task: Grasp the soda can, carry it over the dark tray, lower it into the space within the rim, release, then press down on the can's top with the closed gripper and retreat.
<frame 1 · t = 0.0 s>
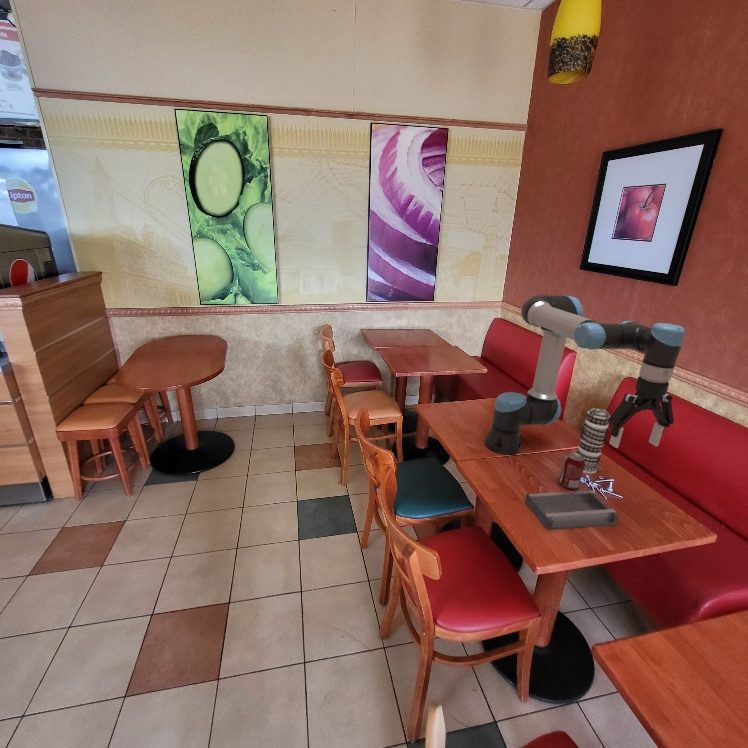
hand: (633, 445, 121), 28 cm above the table, fingers open, 13 cm apart
tray: (568, 512, 133), on the table
soda can: (568, 484, 149), on the table
decorative candle: (584, 468, 161), on the table
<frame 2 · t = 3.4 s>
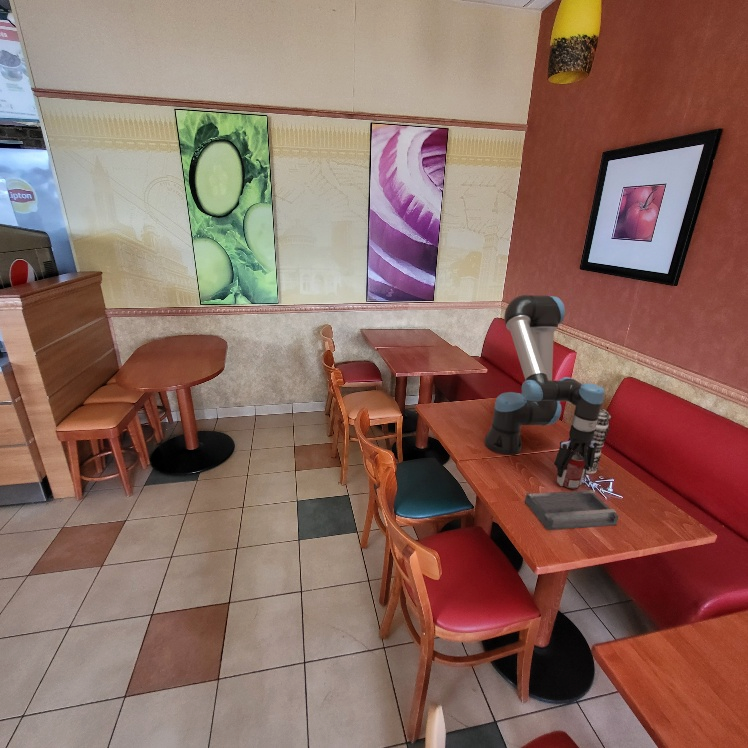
hand: (568, 483, 149), 1 cm above the table, fingers closed on soda can, 7 cm apart
soda can: (568, 484, 149), on the table, touching gripper
everything else where it was.
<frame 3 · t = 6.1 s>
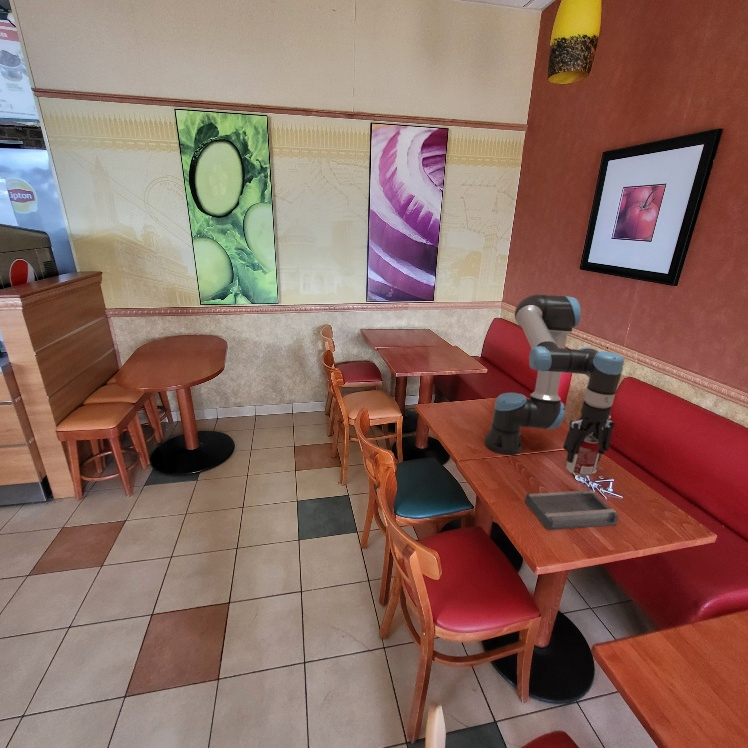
hand: (580, 469, 128), 16 cm above the table, fingers closed on soda can, 7 cm apart
soda can: (579, 472, 128), point 16 cm above the table, touching gripper
everything else where it was.
when the fingers open (3 cm above the table, at t = 8.8 s): soda can drops 1 cm, resting on tray.
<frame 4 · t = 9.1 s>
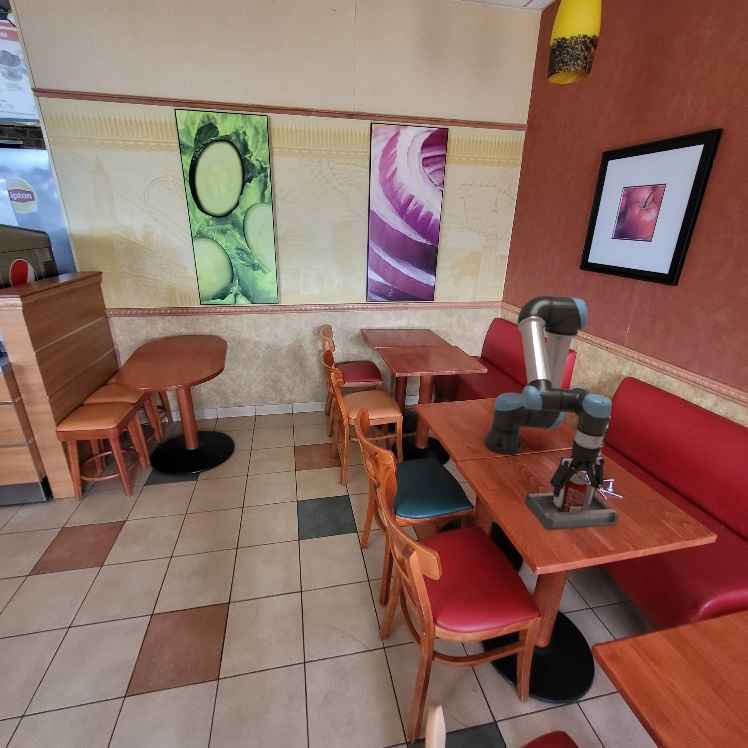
hand: (571, 503, 132), 4 cm above the table, fingers open, 10 cm apart
soda can: (569, 510, 133), point 1 cm above the table, touching tray
everything else where it was.
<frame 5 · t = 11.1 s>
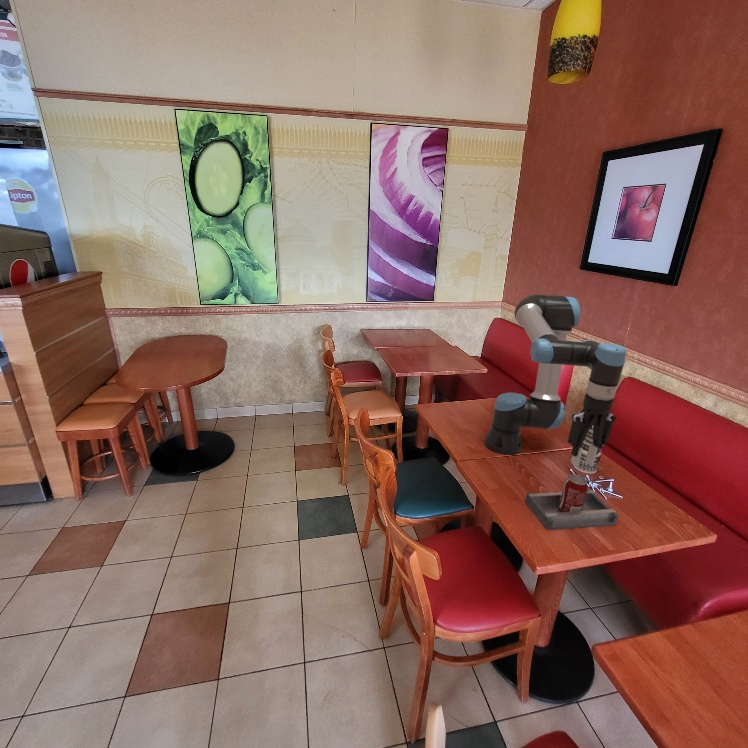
hand: (581, 463, 127), 19 cm above the table, fingers open, 4 cm apart
nothing on the table moved.
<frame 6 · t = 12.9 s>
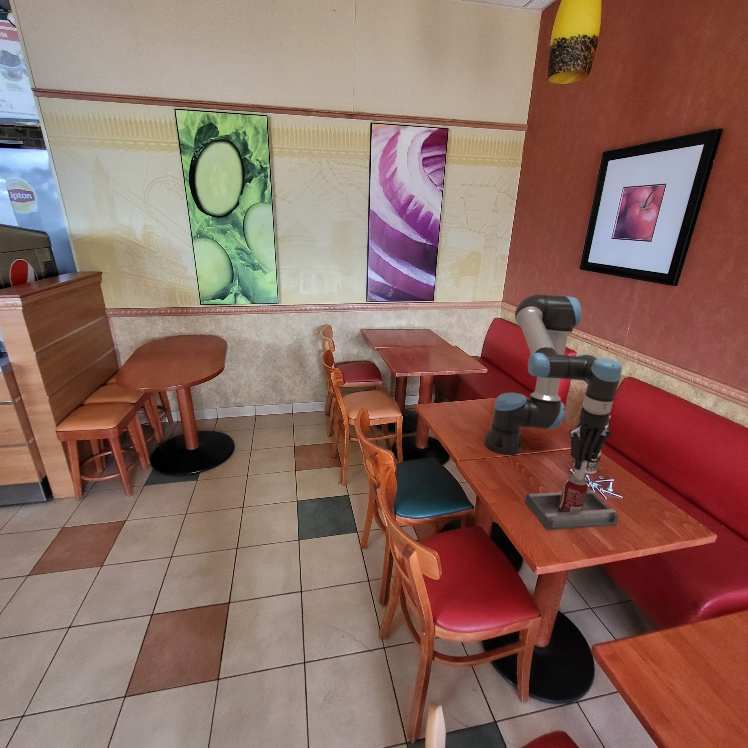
hand: (578, 477, 129), 14 cm above the table, fingers closed
nothing on the table moved.
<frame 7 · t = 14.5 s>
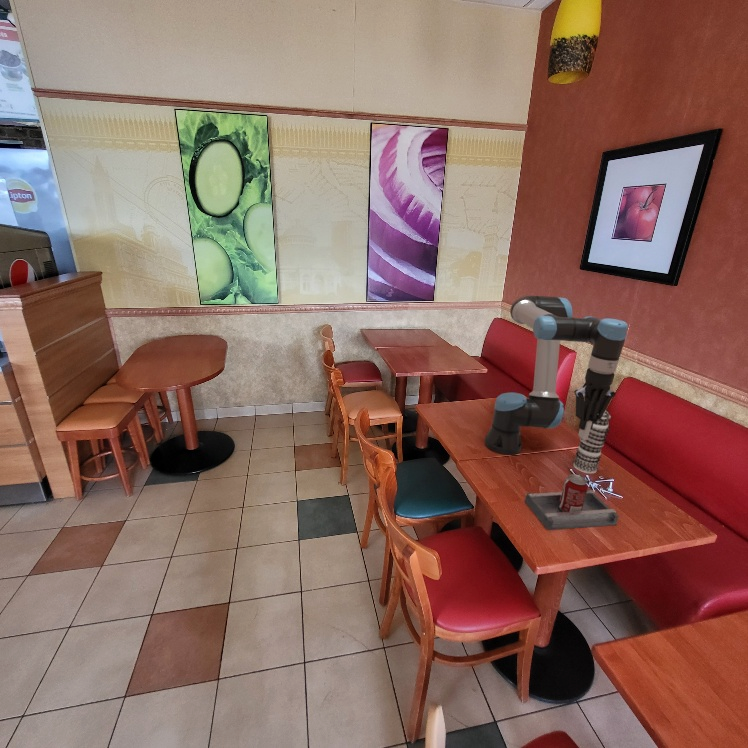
hand: (582, 437, 131), 25 cm above the table, fingers closed
nothing on the table moved.
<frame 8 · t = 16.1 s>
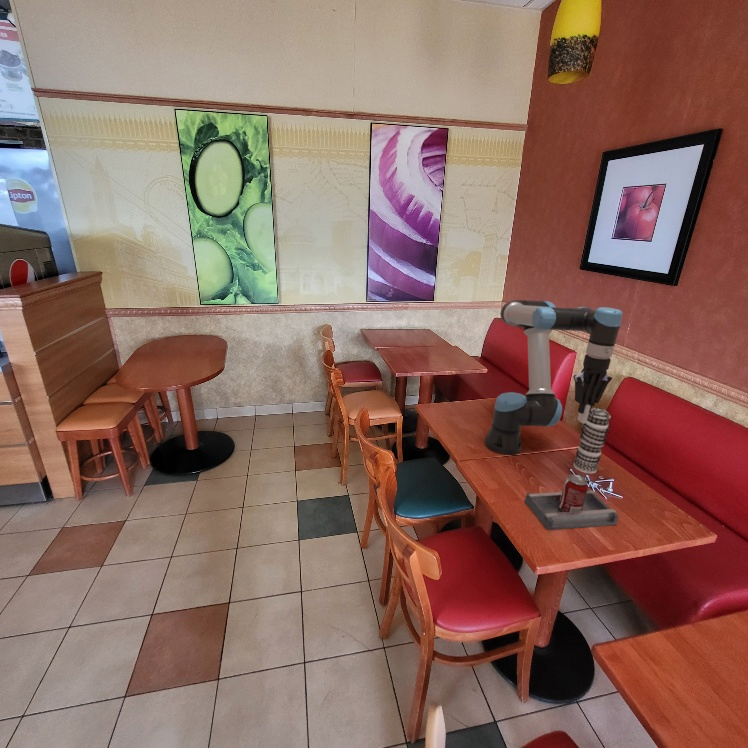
hand: (581, 421, 139), 26 cm above the table, fingers closed
nothing on the table moved.
at the end: soda can inside the target area on the tray (0.1 cm from its centre), point 0.8 cm above the tray's base; soda can tilted 0°; the gripper is holding nothing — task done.
